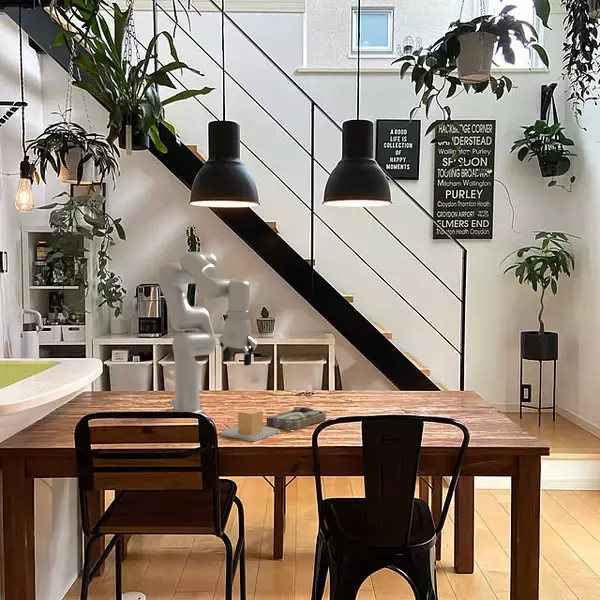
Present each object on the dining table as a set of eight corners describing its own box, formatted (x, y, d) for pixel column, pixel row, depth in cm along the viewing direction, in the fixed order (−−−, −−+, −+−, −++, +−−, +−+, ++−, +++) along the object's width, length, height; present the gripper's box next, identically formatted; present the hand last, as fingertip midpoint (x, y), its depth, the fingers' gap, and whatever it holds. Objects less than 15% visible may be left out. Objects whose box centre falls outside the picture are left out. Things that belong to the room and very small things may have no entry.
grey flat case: (259, 416, 243) (292, 421, 234) (300, 404, 262) (331, 410, 253) (259, 426, 243) (292, 432, 234) (299, 414, 262) (331, 419, 253)
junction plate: (221, 435, 228) (221, 418, 227) (247, 427, 239) (247, 410, 239) (253, 441, 220) (253, 423, 219) (278, 433, 231) (278, 416, 231)
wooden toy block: (238, 430, 228) (238, 411, 228) (249, 427, 233) (249, 408, 233) (251, 433, 225) (251, 414, 225) (262, 429, 230) (262, 410, 230)
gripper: (212, 313, 237) (211, 361, 238) (250, 318, 227) (248, 368, 228) (227, 312, 243) (225, 358, 244) (264, 317, 233) (262, 365, 234)
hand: (236, 363), depth 236 cm, fingers open, 9 cm apart
